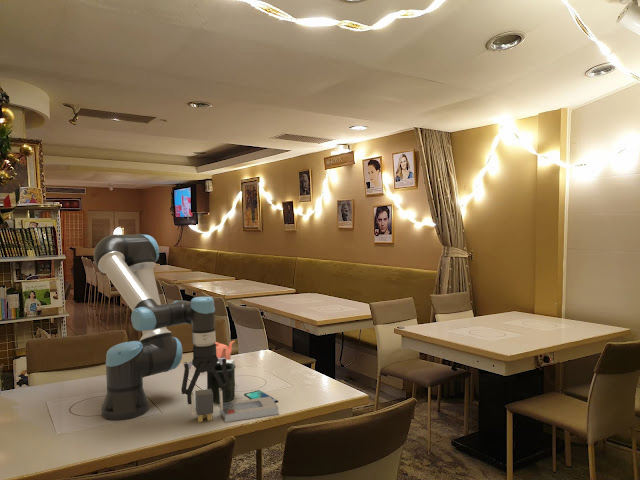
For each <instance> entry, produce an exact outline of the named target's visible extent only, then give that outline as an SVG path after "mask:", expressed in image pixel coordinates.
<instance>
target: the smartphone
mask: <svg viewBox="0 0 640 480" xmlns="http://www.w3.org/2000/svg"><path fill="white" fill-rule="evenodd" d="M243 396H244V397H246V398H248V400H249V399H256V398H263V397H271V398H272V399H273V401H274V402H275V403H276V404H277V403H279V400H278V399H276V398H274V397H272V396H271V395H269V394H268V393H265V392H264V391H261V390H254V391H251V392H246V393H244V394H243Z"/></svg>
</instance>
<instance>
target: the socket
mask: <svg viewBox="0 0 640 480" xmlns="http://www.w3.org/2000/svg"><path fill="white" fill-rule="evenodd" d="M271 397H272V396H271ZM271 397H263V398H256V399H249V398H248V399H242V400H236V401H234V400H233V401H228V402H223V410H220V409H219V411H220V413H221V415H222V416H221V417H222V418H223V421H224V422H225V423H230V422H231V423H232V422H237V421H244V420H245V421H246V420H250V419H258V418H262V417H264V418H265V417H270V416H277V415H279V406H278V405H277V403H275V402H274V401H273V399H272V398H273V397H272V398H271Z"/></svg>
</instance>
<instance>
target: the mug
mask: <svg viewBox="0 0 640 480" xmlns="http://www.w3.org/2000/svg"><path fill="white" fill-rule="evenodd" d="M214 368H215V370H216V371H217V373H218V375H219V377H220V379H221V380H222V382H223V384H225V383H226V382H225V378H224V374H223V370H222V366H221V365H220V363H217V364H216V365H215V367H214ZM226 368H227V372H228V376H229V380H230V384H231V386H230V387H228V388H226V390H225V392H226V398H225V399H223V403H227V402H232V400H234V399H235V396H236V389H235V385H236V377H235V376H236V374H235V373H234V369H236V365H235V363H234V364H231V363H226ZM206 379H207V380H206V383H207V385H206V386H207V387H206V389H211V390H212V392H213V404H214V403H216V404H219V388H221V386H220V385H219V383H218V381H217V379H216V378H215V376H214V374H213V372H212V371H211V372H206Z"/></svg>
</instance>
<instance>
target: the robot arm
mask: <svg viewBox="0 0 640 480" xmlns="http://www.w3.org/2000/svg"><path fill="white" fill-rule="evenodd" d="M159 257H160V247H159V244H158V243H157V240H156V239H155V238H154V237H153V236H151V235H149V234H142V233H138V234H137V233H136V234H110V235H107V236H105V237H103V238H102V239H101V240H99V242H98V243H97V244H96V245H95V247H94V250H93V261H94V264H95V266H96V267H97V268H98V270H99V272H101V273H103V274H106V276H107V278H108V279H109V280H110V281H111V283H112V285H113V286H114V287H115V288H116V289H115V290H117V291H118V293H119V294H120V296H121V298H123V300H124V301H125V303H126V305H127V306H128V307H129V309H131V314H130V315H131V316H130V322H131V323H132V324H131V325H132V327H133V328H134V329H135V330H136V331H138V332H141V333H142V336H141V337H140V339H139V341H138V340H131V341H125V342H120V343H118V344H115V345H113V346H111V347H110V348H109V349H108V350H107V351H106V354H105V358H106V359H105V369H106V370H105V371H106V372H105V373H106V374H105V375H106V393H105V397H104V399H103V403H102V406H101V417H102V418H104V419H106V420H112V421H118V420H121V421H122V420H127V419H132V418H136V417H139V416H141V415H143V414H145V413H146V412H148V410H149V401H148V397H147V395H146V393H145V392H146V391H145V389H144V381H143V379H144V378H146V377H149V376H154V375H158V374H162V373H166V372H169V371H172V370H174V369H176V368H177V367H178V366H179V365H180V363H181V361H182V358H183V345H182V342H181V341H180V340H179V338H178V337H175V336H173V333H172V331H171V330H169V329H168V328H167V327H173V326H178V325H183V324H187V325H191V333H192V344H193V346H192V355H193V358H192V360H191V361H189V362H187V361H185V362H183V367H184V372H183V378H182V384H181V388H180V390H181V394H182V395H186V398H187V405H188V406H189V405H190V411H191V415H192V416H193V415H195V399H194V397H195V395H194V392H193V390H194V388H195V386H196V384H197V382H198V379H199V376H200V375H201V374H202V373H203V374H204V373H207V372H211V371H212V372H213V374H214V376H215V378H216V379H217V381H218V383H219V385H220V386H221V388H219V403H218V404H219V411H220V410H223V403H224V402H223V399H225V398H226V392H225V390H226V388H228V387H230V386H231V384H230V380H229V376H228V372H227V368H226V359H225V357H223V358H217V355H216V344H215V342H217V340H216V339H217V338H216V307H215V300H214V298H213V297H212V296H196V297H193V298H192V299H191V300H190V301H189V300H188V301H187V300H183V299H182V300H175V301H173V302H169V303H163V304H162V303H161V299H160V295H159V289H158V286H157V282H156V277H155V273H154V268H155V267H156V266H157V264H156V262H157V261H158V260H159ZM217 362H219V363H220V365H221V366H222V370H223V374H224V378H225V382H226V383H225V384H223V382H222V380H221V379H220V377H219V375H218V373H217V371H216V370H215V368H214V367H215V365H216V364H217ZM192 366H194V368H195V371H194V372H193V373H194V374H193V376H192V379H191V380H190V382H189V385H188V381H189V380H188V379H189V375H190V370H191V368H192ZM187 385H188V386H187ZM187 387H188V388H187Z"/></svg>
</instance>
